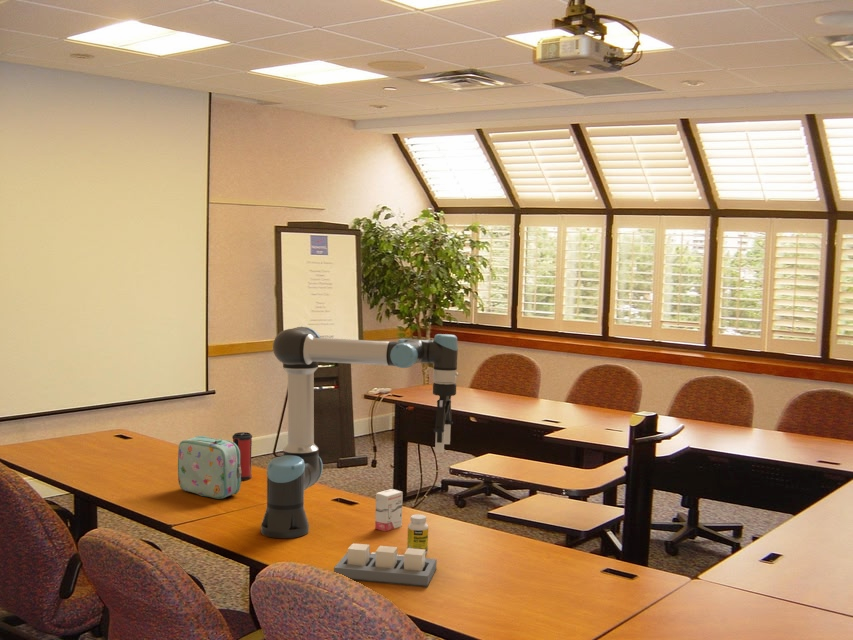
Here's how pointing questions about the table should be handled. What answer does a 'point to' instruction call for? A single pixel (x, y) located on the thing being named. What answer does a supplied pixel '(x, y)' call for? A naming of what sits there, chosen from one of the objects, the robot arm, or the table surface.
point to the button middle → (386, 557)
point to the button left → (358, 554)
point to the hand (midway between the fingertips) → (442, 448)
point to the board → (387, 572)
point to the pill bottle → (418, 533)
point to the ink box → (388, 510)
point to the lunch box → (209, 467)
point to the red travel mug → (244, 453)
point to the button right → (414, 559)
